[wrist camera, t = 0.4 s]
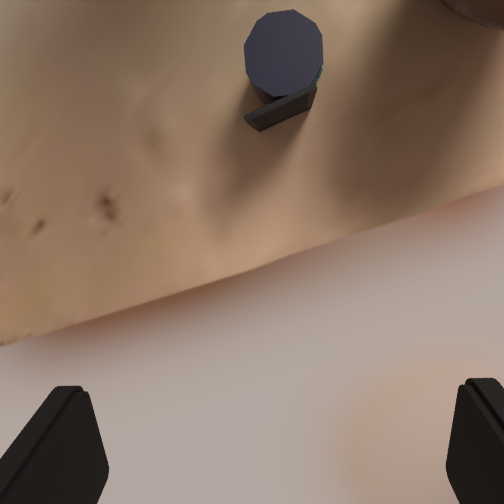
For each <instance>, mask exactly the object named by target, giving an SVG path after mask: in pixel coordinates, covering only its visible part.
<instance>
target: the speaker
mask: <svg viewBox="0 0 504 504" xmlns="http://www.w3.org/2000/svg"><path fill="white" fill-rule="evenodd" d="M244 53H245V65H246V73H247V75H248V77H249V79H250V81H251V83H252V85H253V87H254V89H255V91H256V92H257V94H258V96H259V98H260V99H261V101H263V102H264V103H266V104H268V105H266V106H264V107H262V108H260V109H258V110H256V111H254V112H252V113H249V114H247V115H245V116H244V119H245V121H246V122H247V123H248V124H249V125H251V126H252V127H253V128H254V129H256V130H257V131H258V132H261V131H263V130H265V129H267V128H269V127H271V126H274V125H276V124H278V123H280V122H282V121H285V120H287V119H289V118H291V117H293V116H295V115H298V114H300V113H302V112H304V111H306V110H309V109H311V107H312V104H313V100H314V97H315V94H316V91H317V86H316V84H317V81H318V79H319V77H320V75H321V73H322V70H323V68H322V65H323V46H322V34H321V32H320V31H319V29H318V27H317V25H316V23H314V22H313V21H311V20H309V19H308V18H306V17H305V16H303V15H302V14H300V13H298V12H297V11H295V10H294V9H293V10H286V11H279V12H272V13H267V14H266V15H264V16H263V17H262V18H260V19H259V20H258V21H257V22H256V24H255V25H254V27H253V29H252V31H251V33H250V35H249V37H248V39H247V40H246V42H245V44H244ZM321 68H322V69H321Z"/></svg>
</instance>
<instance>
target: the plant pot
mask: <svg viewBox="0 0 504 504" xmlns="http://www.w3.org/2000/svg"><path fill="white" fill-rule="evenodd" d="M442 1H443V2H444V3H445V4H446V5H447V6H448V7H449V8H450V9H452V10H453V11H454V12H456V13H457V14H459V15H461V16H462V17H464V18H466V19H468V20H470V21H473V22H475V23H478V24H481V25H484V26H487V27H490V28H494V29H498V30H501V31H504V0H442Z"/></svg>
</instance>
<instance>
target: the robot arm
mask: <svg viewBox="0 0 504 504" xmlns="http://www.w3.org/2000/svg"><path fill="white" fill-rule="evenodd" d="M446 471H447V476H448V479H449V481H450V484H451V486H452V488H453V490H454V492H455V495H456V497H457V499H458V501H459V503H460V504H504V388H503V387H502V386H501V384H500V383H499V382H498V381H497V380H496V379H494V378H469V379H467V380H466V382H465V385H460V386H459V388H458V393H457V399H456V405H455V411H454V417H453V424H452V430H451V436H450V442H449V448H448V454H447V460H446ZM108 473H109V465H108V461H107V457H106V454H105V450H104V447H103V443H102V439H101V436H100V432H99V428H98V425H97V421H96V417H95V414H94V410H93V406H92V403H91V399H90V396H89V393H88V392H85V391H83V388H82V387H81V386H57V387H55V388H54V389H53V390H52V391H51V393H50V394H49V395H48V397H47V398H46V399H45V401H44V402H43V403H42V405H41V406H40V407H39V409H38V410H37V411H36V413H35V414H34V415H33V417H32V418H31V419H30V421H29V422H28V423H27V424H26V426H25V427H24V428H23V430H22V431H21V432H20V434H19V435H18V436H17V438H16V439H15V440H14V441H13V443H12V444H11V446H10V447H9V448H8V449H7V451H6V452H5V453H4V455H3V456H2V457H1V459H0V504H97V502H98V500H99V498H100V496H101V493H102V490H103V488H104V486H105V484H106V481H107V479H108Z"/></svg>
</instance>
